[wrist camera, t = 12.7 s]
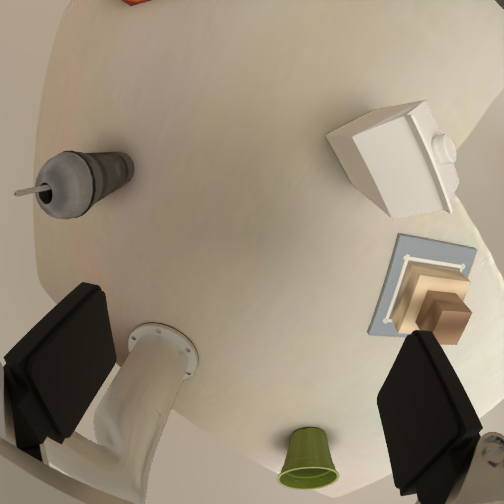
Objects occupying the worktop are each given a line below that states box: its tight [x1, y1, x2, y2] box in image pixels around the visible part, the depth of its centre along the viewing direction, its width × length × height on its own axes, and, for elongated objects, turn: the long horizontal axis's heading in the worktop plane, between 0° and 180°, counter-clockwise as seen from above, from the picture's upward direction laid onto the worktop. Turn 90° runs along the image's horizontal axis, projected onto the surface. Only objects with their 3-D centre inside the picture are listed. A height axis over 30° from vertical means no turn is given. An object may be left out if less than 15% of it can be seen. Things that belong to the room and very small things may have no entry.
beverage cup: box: [13, 151, 134, 219], centre depth 28 cm, size 7×7×20 cm
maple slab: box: [391, 262, 471, 334], centre depth 37 cm, size 9×9×4 cm
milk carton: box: [325, 100, 459, 219], centre depth 25 cm, size 7×7×19 cm
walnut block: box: [415, 290, 472, 345], centre depth 33 cm, size 5×5×5 cm
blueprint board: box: [368, 233, 477, 337], centre depth 40 cm, size 16×14×1 cm
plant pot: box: [277, 428, 339, 490], centre depth 50 cm, size 12×12×11 cm
